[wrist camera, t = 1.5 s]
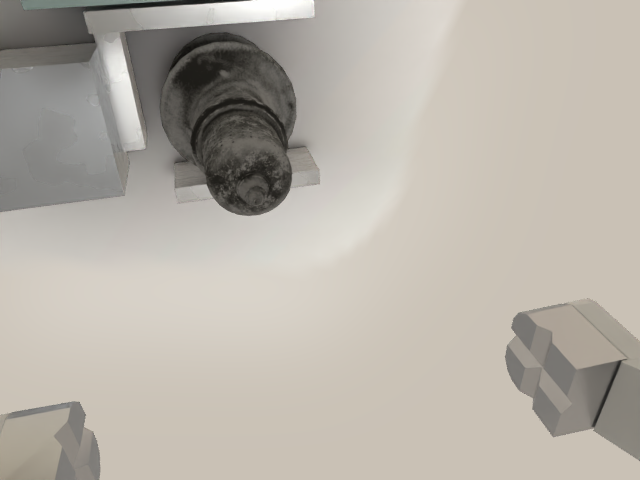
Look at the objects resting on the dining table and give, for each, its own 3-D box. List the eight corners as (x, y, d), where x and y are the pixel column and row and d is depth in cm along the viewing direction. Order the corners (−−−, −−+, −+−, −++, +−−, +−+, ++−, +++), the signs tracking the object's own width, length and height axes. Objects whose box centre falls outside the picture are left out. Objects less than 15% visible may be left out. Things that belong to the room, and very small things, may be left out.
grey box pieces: (12, 197, 25) (-15, 245, 22) (-64, 10, 21) (-114, 31, 17) (306, 160, 28) (327, 197, 24) (298, -13, 23) (322, 1, 20)
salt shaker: (259, 159, 27) (309, 295, 18) (147, 126, 25) (133, 262, 15) (299, 52, 25) (382, 141, 15) (179, 5, 23) (186, 74, 13)
